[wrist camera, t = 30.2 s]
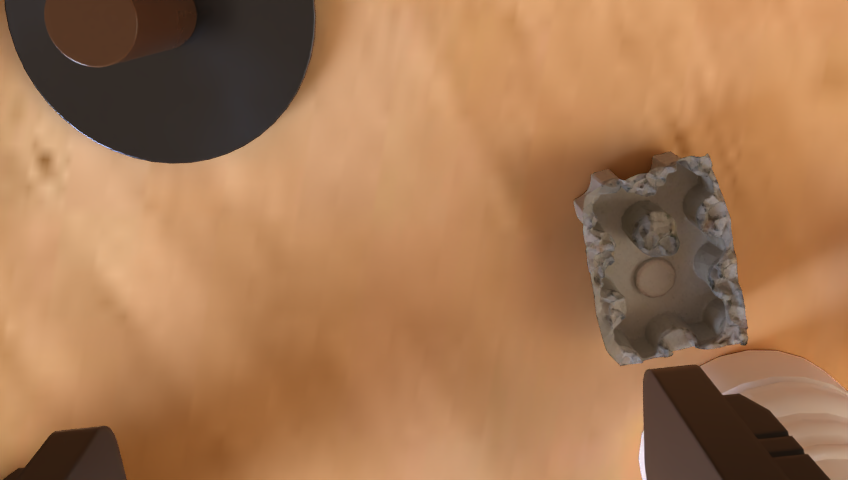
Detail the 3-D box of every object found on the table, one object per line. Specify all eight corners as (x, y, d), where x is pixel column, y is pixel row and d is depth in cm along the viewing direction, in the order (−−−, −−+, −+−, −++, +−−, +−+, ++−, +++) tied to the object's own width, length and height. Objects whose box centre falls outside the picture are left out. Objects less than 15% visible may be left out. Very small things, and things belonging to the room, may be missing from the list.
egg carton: (723, 321, 45) (755, 353, 41) (593, 349, 45) (612, 384, 41) (704, 139, 41) (736, 155, 37) (563, 170, 41) (580, 190, 38)
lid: (292, -169, 36) (254, -226, 27) (336, 143, 41) (317, 190, 31) (-23, -135, 36) (-175, -180, 27) (56, 173, 41) (-50, 230, 31)
